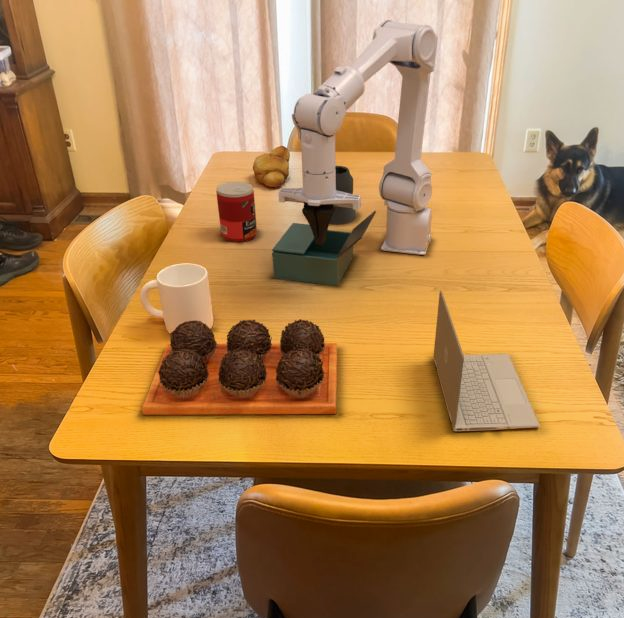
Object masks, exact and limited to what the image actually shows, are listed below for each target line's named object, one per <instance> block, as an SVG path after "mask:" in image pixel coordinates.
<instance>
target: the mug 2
mask: <svg viewBox="0 0 624 618" xmlns="http://www.w3.org/2000/svg"><path fill="white" fill-rule="evenodd" d="M335 166H336V168H335V169H336V190H337V191H341V192H345V193H349V194H353V195H354V177H353V176H352V174H351V173H350V169H349V167H347V166H343V165H335ZM356 218H357V213H356V210H353V208H348V207H338V206H336V208H335V210H334V213H333V215H332V217H331V220H330V223H329V225H345V224H349V223H352V222H354V221H355V220H356Z"/></svg>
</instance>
